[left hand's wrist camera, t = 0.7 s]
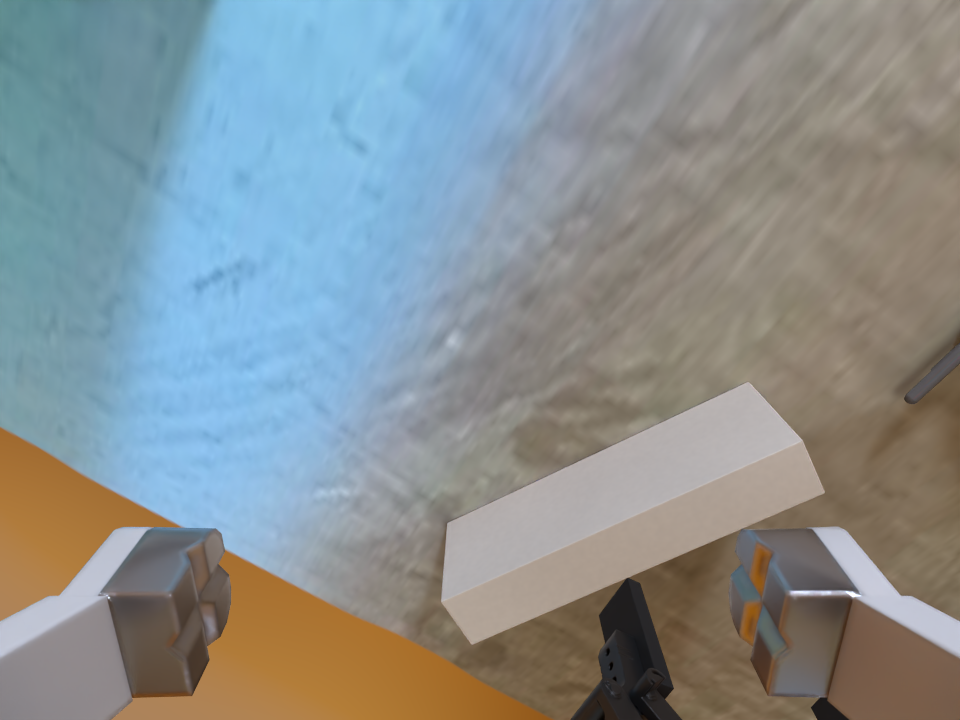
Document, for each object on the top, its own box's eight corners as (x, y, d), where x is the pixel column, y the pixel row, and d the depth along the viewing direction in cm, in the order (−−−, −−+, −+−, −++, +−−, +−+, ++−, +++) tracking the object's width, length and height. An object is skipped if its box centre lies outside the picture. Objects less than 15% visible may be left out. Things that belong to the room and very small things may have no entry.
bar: (473, 561, 59) (471, 645, 50) (446, 522, 58) (440, 602, 49) (768, 427, 54) (825, 493, 45) (748, 381, 53) (802, 440, 44)
